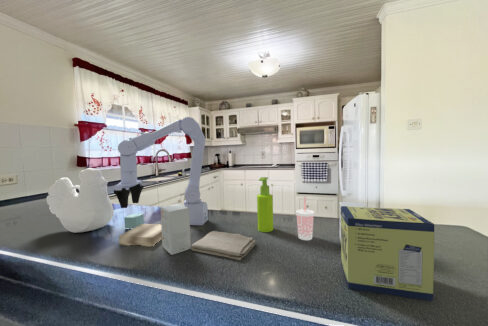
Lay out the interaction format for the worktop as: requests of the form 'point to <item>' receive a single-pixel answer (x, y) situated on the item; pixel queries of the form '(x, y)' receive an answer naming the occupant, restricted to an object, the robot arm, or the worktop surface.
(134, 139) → the robot arm
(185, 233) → the small box
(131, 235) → the birch plinth
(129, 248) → the worktop surface
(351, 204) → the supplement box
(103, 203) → the decorative rooster
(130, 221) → the teal block
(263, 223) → the soap dispenser
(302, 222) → the beverage cup
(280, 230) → the worktop surface
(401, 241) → the protein box
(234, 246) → the washcloth
